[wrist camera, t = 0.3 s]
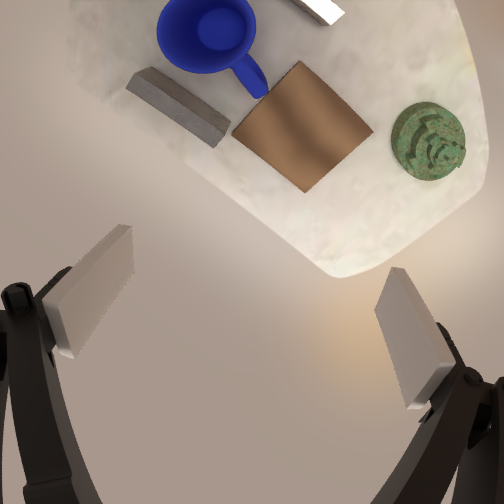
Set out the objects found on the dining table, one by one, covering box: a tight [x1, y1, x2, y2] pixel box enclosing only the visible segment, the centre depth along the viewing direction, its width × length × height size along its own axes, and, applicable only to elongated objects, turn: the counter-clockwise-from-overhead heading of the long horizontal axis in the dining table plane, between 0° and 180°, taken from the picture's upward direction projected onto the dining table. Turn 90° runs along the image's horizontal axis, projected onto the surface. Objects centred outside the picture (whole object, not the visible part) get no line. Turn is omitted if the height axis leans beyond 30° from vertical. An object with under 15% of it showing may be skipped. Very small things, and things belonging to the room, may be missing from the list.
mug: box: [157, 0, 268, 99], centre depth 25 cm, size 8×12×10 cm
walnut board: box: [231, 61, 373, 193], centre depth 34 cm, size 12×12×1 cm
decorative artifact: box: [391, 102, 466, 181], centre depth 31 cm, size 10×7×10 cm
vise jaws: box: [126, 0, 344, 148], centre depth 26 cm, size 23×12×5 cm, turn 140°
